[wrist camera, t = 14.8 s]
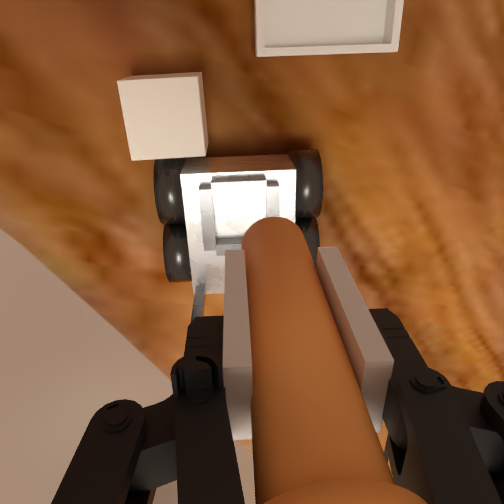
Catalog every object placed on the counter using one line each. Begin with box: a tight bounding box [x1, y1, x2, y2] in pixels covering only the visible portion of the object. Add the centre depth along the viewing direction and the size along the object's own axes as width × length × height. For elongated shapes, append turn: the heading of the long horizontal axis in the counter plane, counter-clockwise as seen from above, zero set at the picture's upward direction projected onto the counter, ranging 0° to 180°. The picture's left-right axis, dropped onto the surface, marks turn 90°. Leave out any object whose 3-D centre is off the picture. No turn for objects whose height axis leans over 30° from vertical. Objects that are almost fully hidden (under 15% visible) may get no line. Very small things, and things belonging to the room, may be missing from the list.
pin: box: [242, 216, 427, 504], centre depth 13 cm, size 4×4×14 cm
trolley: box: [154, 149, 323, 322], centre depth 34 cm, size 12×14×16 cm
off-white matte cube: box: [117, 72, 209, 161], centre depth 35 cm, size 6×6×5 cm
